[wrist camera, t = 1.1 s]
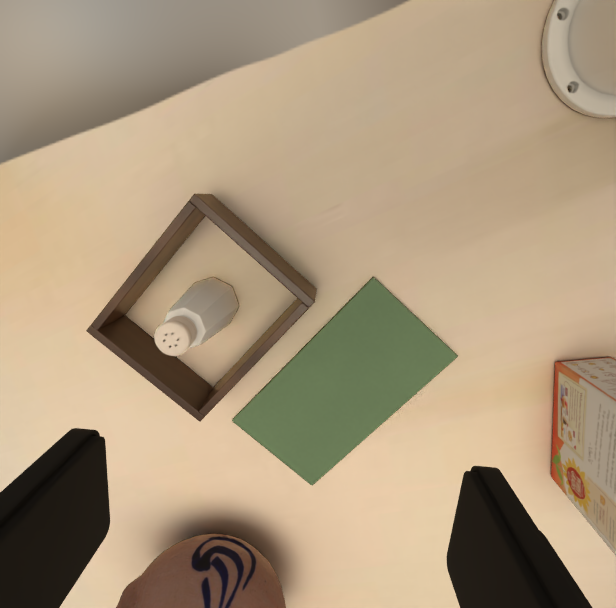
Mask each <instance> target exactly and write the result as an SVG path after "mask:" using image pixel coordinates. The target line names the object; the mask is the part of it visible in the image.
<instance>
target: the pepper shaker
mask: <svg viewBox="0 0 616 608" xmlns="http://www.w3.org/2000/svg"><path fill="white" fill-rule="evenodd" d="M238 307H239V304H238V301H237V299H236V296H235V293H234V290H233V288H232V286H230V285H228V284H226V283H224V282H222V281H220V280H218V279H216V278H214V277H212V278H209V279H205V280H202V281H199V282H195V283H194V284H193V285H192V286H191V287H190V288H189V289H188V290H187V291H186V293H185V294H184V295H183V296H182V297H181V298H180V299H179V300H178V301H177V302H176V303H175V304H174V306H173V307H172V308H171V309H170V310H169V311H168V313H167V315H166V318H165V320H164V322H163V323H162V324H161V325H159V326H158V327H157V329H156V331H155V334H154V339H155V343H156V346H157V347H158V348H159V350H160V351H162V352H163V353H165V354H167V355H169V356H179V355H182V354H184V353H185V352H186V351H187V350H188V349H189V348H192V347H195V346H199V345H201V344H202V343H204V342H205V341H207V340H208V339H209V338H211V337H212V336H213V335H215V334H216V333H217V332H219V331H220V330H221V329H223V328H224V327H226V326H227V325H228V324H230V323H231V321H232V319H233V317H234V315H235V313H236V311H237V309H238Z"/></svg>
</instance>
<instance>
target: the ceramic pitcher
mask: <svg viewBox="0 0 616 608" xmlns="http://www.w3.org/2000/svg"><path fill="white" fill-rule="evenodd" d="M116 608H286V606H285V600H284V596H283V592H282V588H281V585H280V583H279V580H278V578H277V575H276V573H275V571H274V569H273V568H272V566H271V565H270V563H269V562H268V560H267V559H266V558H265V557H264V556H262V555H261V554H260V553H259V551H258V550H257V549H255V548H254V547H253V546H252V545H250V544H248V543H247V542H245V541H244V540H242V539H239V538H236V537H233V536H229V535H222V534H206V535H199V536H195V537H192V538H189V539H186V540H183V541H181V542H179V543H177V544H175V545H173V546H172V547H170V548H169V549H167V550H166V551H164V552H163V553H162V554H160V555H159V556H158V557H157V558H156V559H155V560H154V561H153V562H152V563H151V564H150V565H149V566H148V568H147V569H146V570H145V571H144V573H143V574H142V575H141V576H139V577H138V578H137V579H135V580H134V581H133V582H131V583H130V584H129V585H128V586H127V587H126V588H125V590H124V591H123V593H122V596H121V598H120V601H119V603H118V605H117V607H116Z"/></svg>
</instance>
